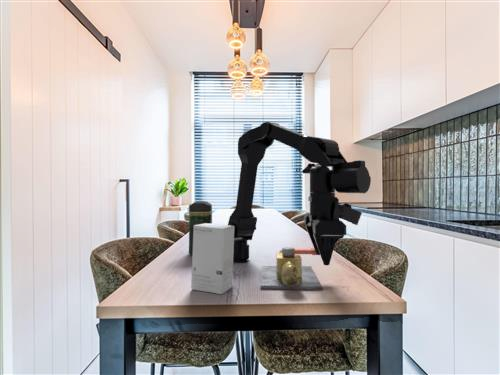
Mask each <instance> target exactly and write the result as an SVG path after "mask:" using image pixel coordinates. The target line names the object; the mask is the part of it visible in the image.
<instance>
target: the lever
mask: <svg viewBox="0 0 500 375" xmlns="http://www.w3.org/2000/svg"><path fill="white" fill-rule="evenodd" d="M281 250H282V255H283V256H294V255H295V254H300V255H312V256H318V255H317V254H316V252H315V249H314V247H311V248H294V247H292V246H289V247H288V246H285V247H282V248H281Z"/></svg>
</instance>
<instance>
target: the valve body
mask: <svg viewBox="0 0 500 375" xmlns="http://www.w3.org/2000/svg"><path fill="white" fill-rule="evenodd" d="M275 256H276V259H275V261H276V263H275V264H276V265H262V266H261V276H260V289H261V290H303V291H304V290H307V291H308V290H309V291H314V290H315V291H322V290H323V285H322V284H321V282H320V280H319V278H318V276H317V274H316V273H315V271H314V269H313V268H312V266H310V265H309V266H306V265H305V266H303V265H302V261H303V260H302V256H301V254H295V255H294V256H283V255H282V249H281V250H280V251H278V252H276V255H275Z"/></svg>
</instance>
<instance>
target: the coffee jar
mask: <svg viewBox="0 0 500 375" xmlns="http://www.w3.org/2000/svg"><path fill="white" fill-rule="evenodd" d="M188 223H189V224H188V254H189V255H190V256H191V255H193V230H194V225H199V224H204V223H212V224H213V205H212V203H210V202H209V201H206V200H199V201H195V202H193V203H191V204H190V205H189V206H188Z"/></svg>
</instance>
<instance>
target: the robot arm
mask: <svg viewBox="0 0 500 375" xmlns="http://www.w3.org/2000/svg"><path fill="white" fill-rule="evenodd" d="M275 141H277V142H279V143H282V144H283V145H285V146H287V147H290V148H292V149H295V150H296V151H297V152H299V154H300V156H302V157H303V158H304V159H306V160H307V161H308V162H310V163H308V164H307V165H306V167H304V168H303V169H302V171H301V172H302V174H309V196H308V201H309V212H307V213H306V214H305V215H304V216H303V224H304V226H305V228H306V231H307V234H308V236H309V239H310V241H311V244H312V247H313V248H314V249H315V252H316V254H317V255H316V256H320V258H321V261H322V263H323V266H330V264H331V260H332V256H333V252H334V249H335V245H336V243H337V242H338V241H340V240H341V239H343V238H344V237H345V236H347V225H346V224H345V223H344V222H343V221H342V220H345V221H347V222H348V223H351V224H353V225H354V226H355V225H356V226H358V225H359V221H360V219H361V216H362V213H363V212H362V211H359V210H357V209H354V208H352V204H350V203H347V202H342V203H341V204H340V202H339V201H340V200H339V198H338V197H336V192H337V193H338V194H366V193H367V192H368V191H369V189H370V188H371V187H370V186H371V183H372V182H371V181H372V179H371V178H372V177H371V176H370V172H369V169H368V168H367V166H366V160H354V161H348V160H346V158H345V157H344V155H343V154H342V153H341V151H340V147H339V143H338V142H337V141H336V140H333V139H328V138H322V137H316V136H309V135H306V134H303V133H301V132H297V131H295V130H292V129H290V128H288V127H285V126H283V125H280V124H279V123H276V122H271V121H264V122H262V123H261V124H260V125H259V126H256V127H254V128H252V129H248V130H247V131H246V132H244V133H243V134H242V135H240V137H239V138H238V140H237V155H238V158H239V160H240V162H241V165H240V174H239V181H238V189H237V197H236V205H235V209H234V210H233V212H232V213H231V214H230V215H229V217H228V221H227V225H232V226H234V253H233V263H247V262H248V260H249V259H250V244H248V241H252V240H253V237H254V233H255V231H256V230H257V222H258V218H257V216H255V215H254V213H253V211H252V210H253V203H254V195H255V190H256V189H255V188H256V180H257V174H258V167H259V165H260V163H261V162H262V160H264V157H265V154H266V151H267V149H268V148H270V147H271V146H272V145H273V143H274V142H275ZM316 164H318V165H316ZM330 168H332V169H330ZM340 219H342V220H340Z"/></svg>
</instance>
